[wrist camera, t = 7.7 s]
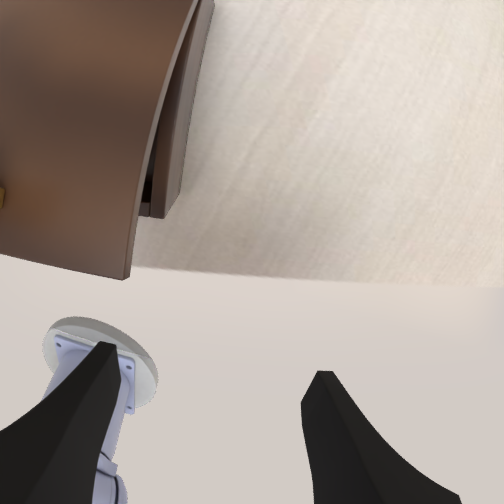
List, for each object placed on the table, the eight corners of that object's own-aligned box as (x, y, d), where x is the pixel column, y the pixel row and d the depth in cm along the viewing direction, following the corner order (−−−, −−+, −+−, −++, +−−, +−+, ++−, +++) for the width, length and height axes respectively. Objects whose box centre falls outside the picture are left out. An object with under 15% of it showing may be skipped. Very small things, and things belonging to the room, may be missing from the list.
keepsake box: (179, 194, 17) (164, 219, 13) (-8, 173, 15) (-44, 191, 11) (215, 4, 12) (208, -23, 8) (6, 22, 10) (-30, 17, 7)
